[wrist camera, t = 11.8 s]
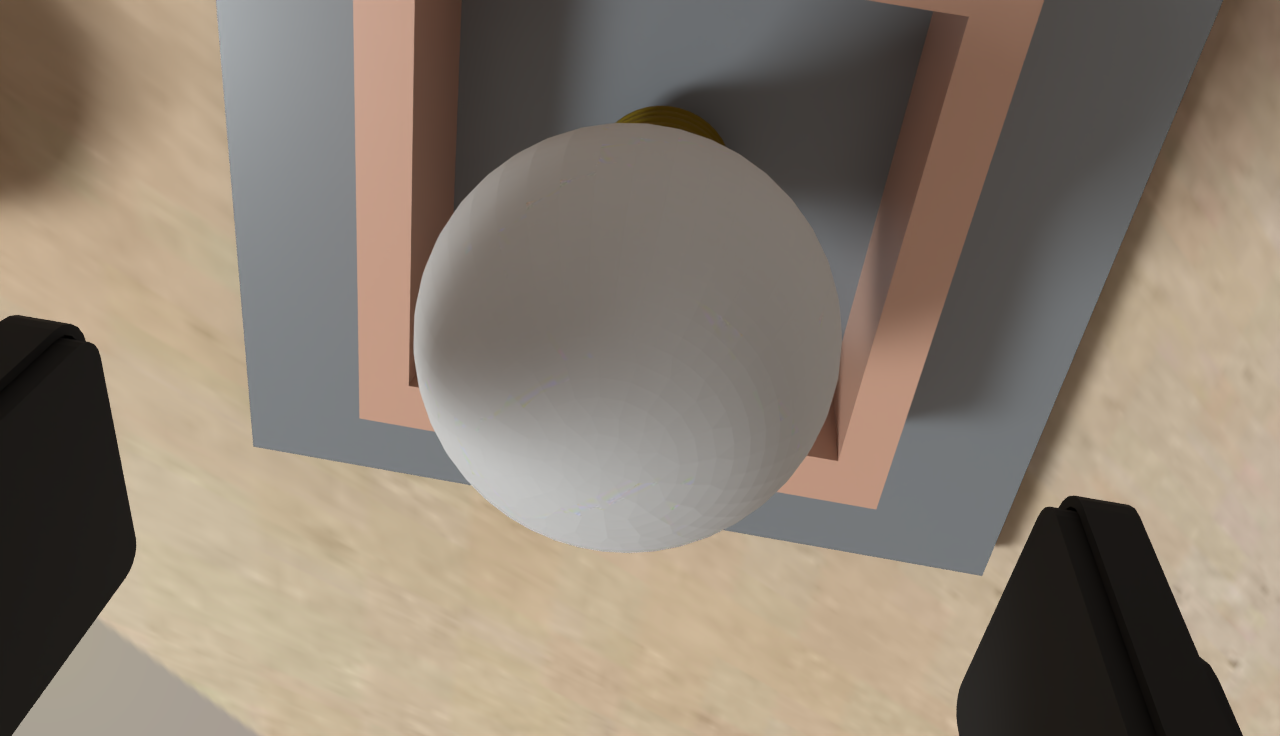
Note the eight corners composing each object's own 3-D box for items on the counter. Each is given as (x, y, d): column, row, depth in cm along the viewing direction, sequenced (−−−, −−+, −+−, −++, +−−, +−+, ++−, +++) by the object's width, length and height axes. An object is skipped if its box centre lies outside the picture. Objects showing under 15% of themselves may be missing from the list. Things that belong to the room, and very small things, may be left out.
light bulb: (882, 144, 20) (970, 463, 12) (681, 339, 23) (635, 711, 14) (646, -70, 18) (549, 122, 10) (460, 168, 21) (263, 474, 13)
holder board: (205, -474, 17) (62, -521, 14) (1320, -303, 17) (1459, -307, 13) (270, 423, 27) (195, 526, 23) (975, 548, 26) (1004, 671, 23)
